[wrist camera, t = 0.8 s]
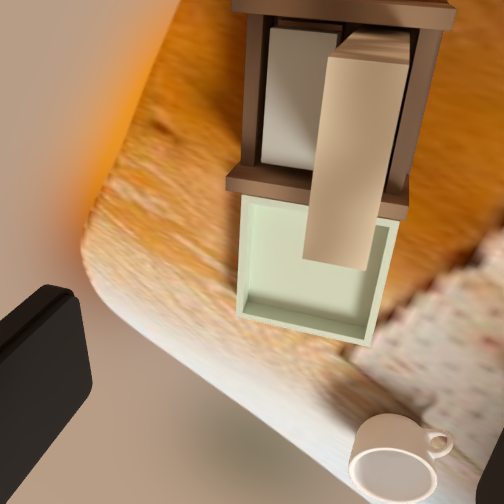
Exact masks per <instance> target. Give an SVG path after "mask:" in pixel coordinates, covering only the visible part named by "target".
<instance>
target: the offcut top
mask: <svg viewBox="0 0 504 504" xmlns="http://www.w3.org/2000/svg"><path fill="white" fill-rule="evenodd" d="M341 32H342V31H337V30H326V29H315V28H304V27H293V26H282V25H277V26H274V27H272V28H270V41H269V56H268V70H267V84H266V99H265V113H264V128H263V142H262V157H261V163H267V164H274V165H280V166H287V167H293V168H300V169H306V170H314V162H315V155H316V147H317V139H318V131H319V123H320V116H321V108H322V100H323V92H324V84H325V77H326V69H327V61H328V56H329V55H330V54H331V53H332V52H333V51H334V50H336V49H337V48H338V47H339V46H340V39H341Z"/></svg>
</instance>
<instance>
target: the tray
mask: <svg viewBox="0 0 504 504" xmlns="http://www.w3.org/2000/svg"><path fill="white" fill-rule="evenodd" d="M308 209H309V204H304V203H298V202H292V201H286V200H280V199H274V198H268V197H262V196H256V195H250V194H244V193H243V194H242V199H241V219H240V239H239V260H238V280H237V300H236V317H239V318H243V319H248V320H252V321H256V322H261V323H265V324H270V325H274V326H279V327H283V328H287V329H292V330H296V331H301V332H305V333H310V334H314V335H318V336H323V337H327V338H332V339H336V340H341V341H345V342H350V343H354V344H358V345H363V346H367V347H370V345H371V341H372V336H373V332H374V328H375V324H376V320H377V315H378V311H379V307H380V303H381V299H382V294H383V290H384V286H385V282H386V278H387V273H388V269H389V265H390V261H391V257H392V252H393V248H394V244H395V240H396V236H397V231H398V227H399V223H400V220H398V219H392V218H386V217H381V216H377V221H376V226H375V230H374V235H373V240H372V245H371V249H370V254H369V259H368V264H367V268H366V271H363V270H358V269H353V268H348V267H342V266H337V265H332V264H327V263H322V262H317V261H311V260H306V259H302V256H303V248H304V240H305V233H306V225H307V217H308Z"/></svg>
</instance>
